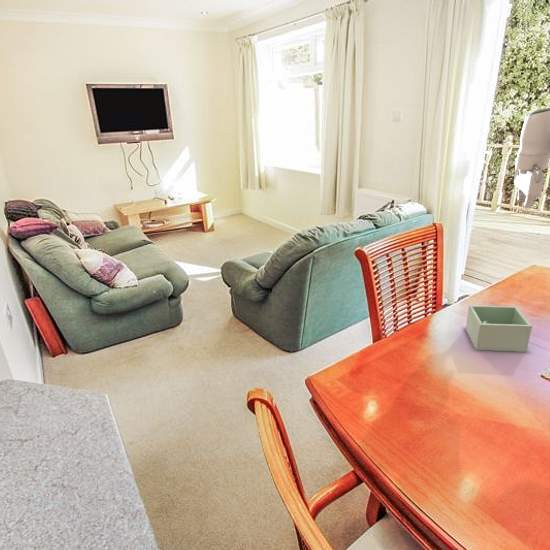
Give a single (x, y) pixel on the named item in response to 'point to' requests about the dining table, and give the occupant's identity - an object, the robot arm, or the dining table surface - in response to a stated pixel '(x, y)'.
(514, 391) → the dining table surface
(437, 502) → the dining table surface
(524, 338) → the sage green open box
